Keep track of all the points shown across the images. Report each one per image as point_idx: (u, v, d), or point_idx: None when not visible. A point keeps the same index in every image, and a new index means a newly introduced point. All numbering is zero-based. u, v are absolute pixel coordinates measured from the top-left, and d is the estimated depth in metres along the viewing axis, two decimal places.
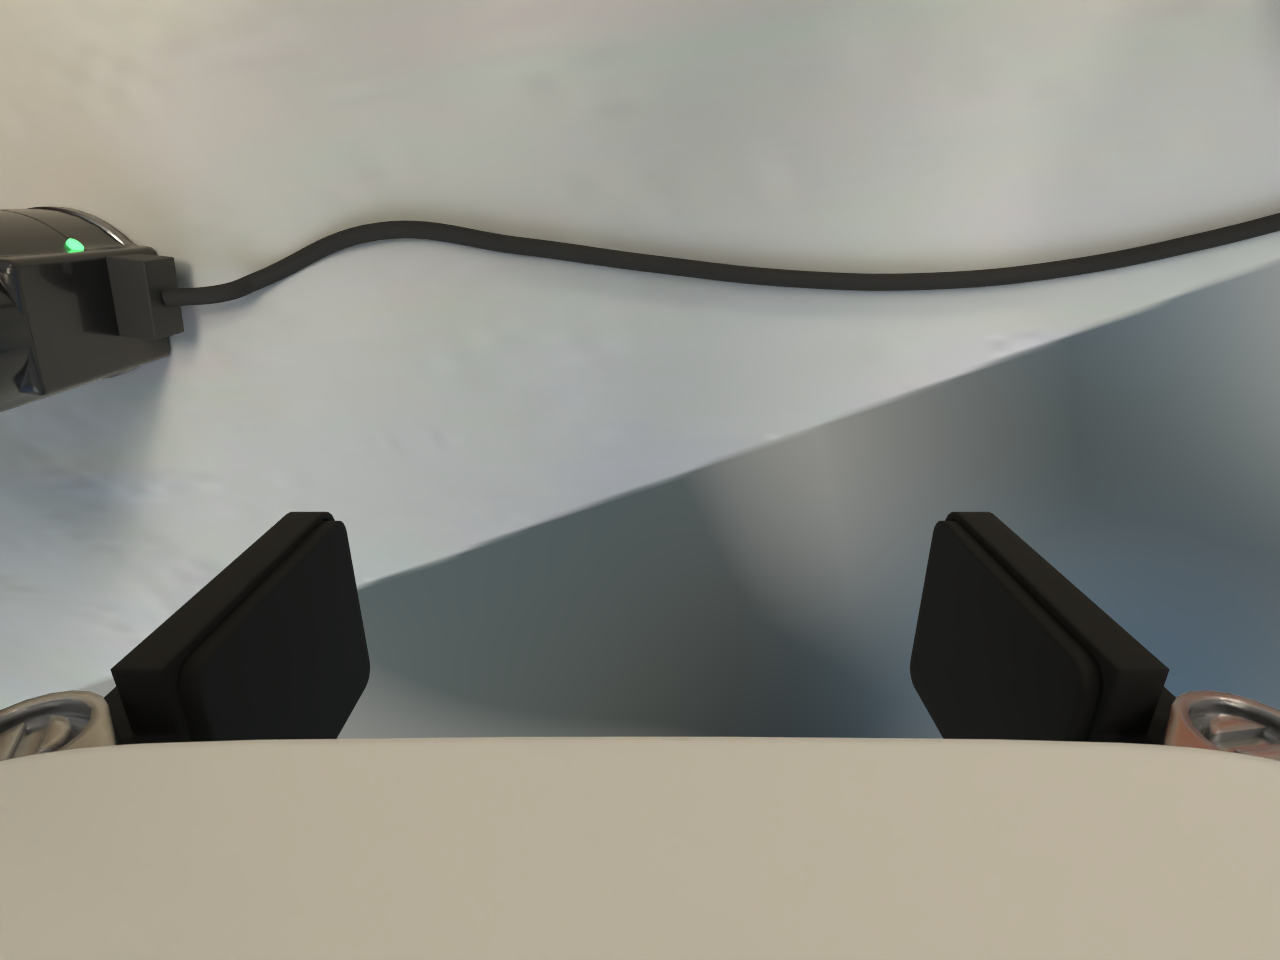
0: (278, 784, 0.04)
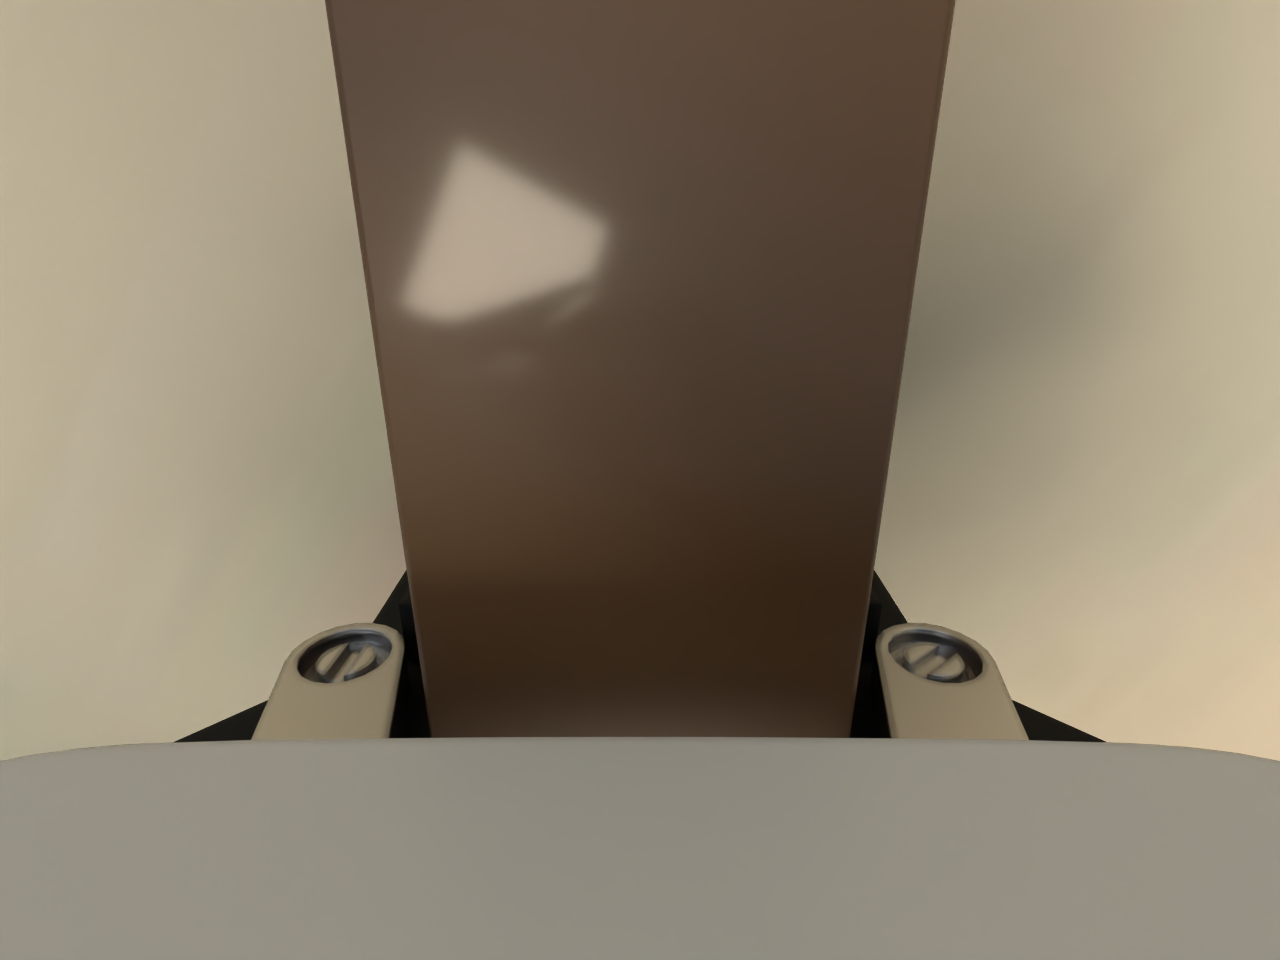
0: (278, 784, 0.04)
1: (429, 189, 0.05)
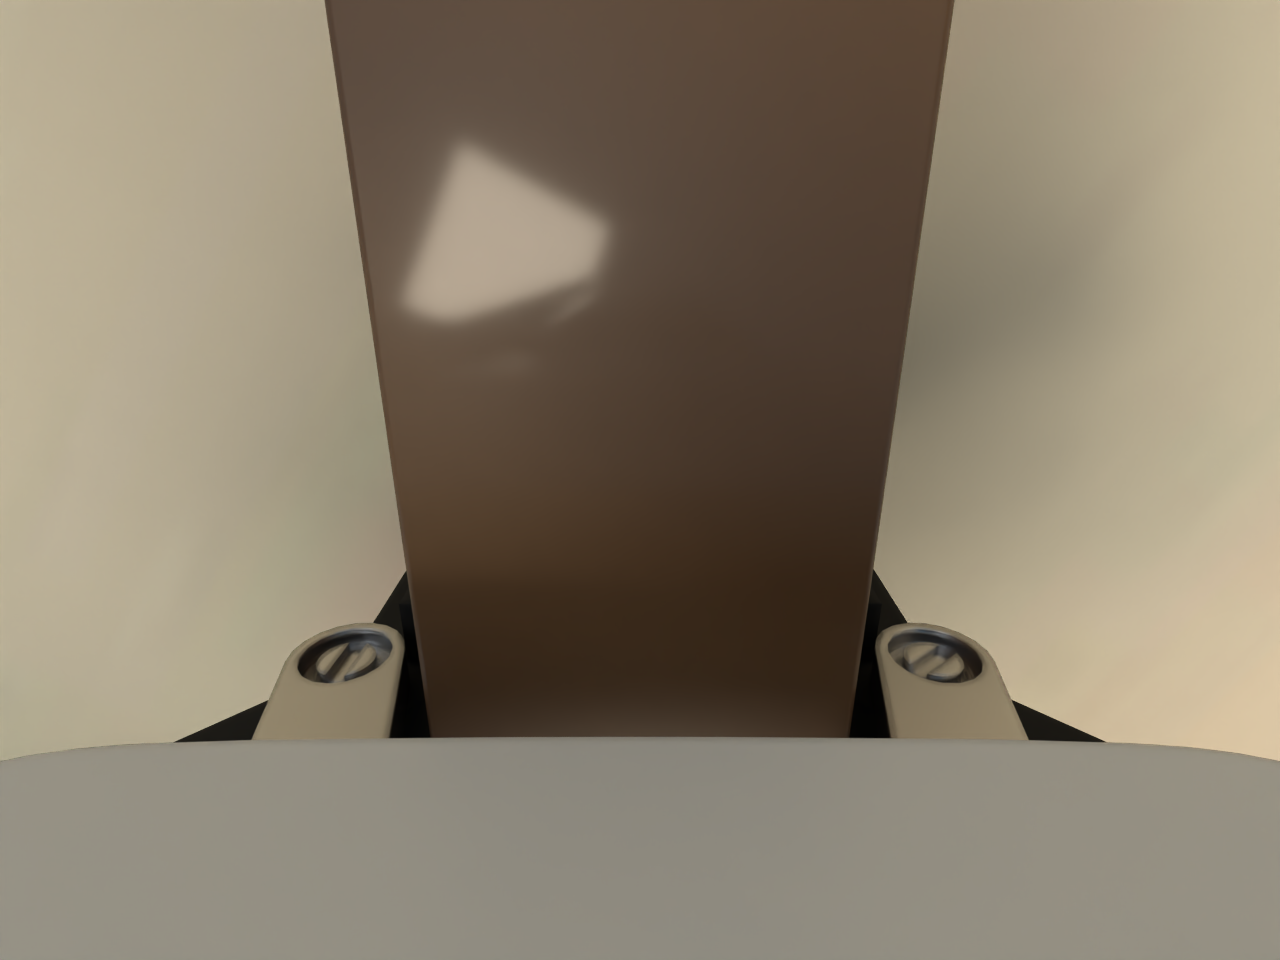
0: (278, 784, 0.04)
1: (428, 189, 0.05)
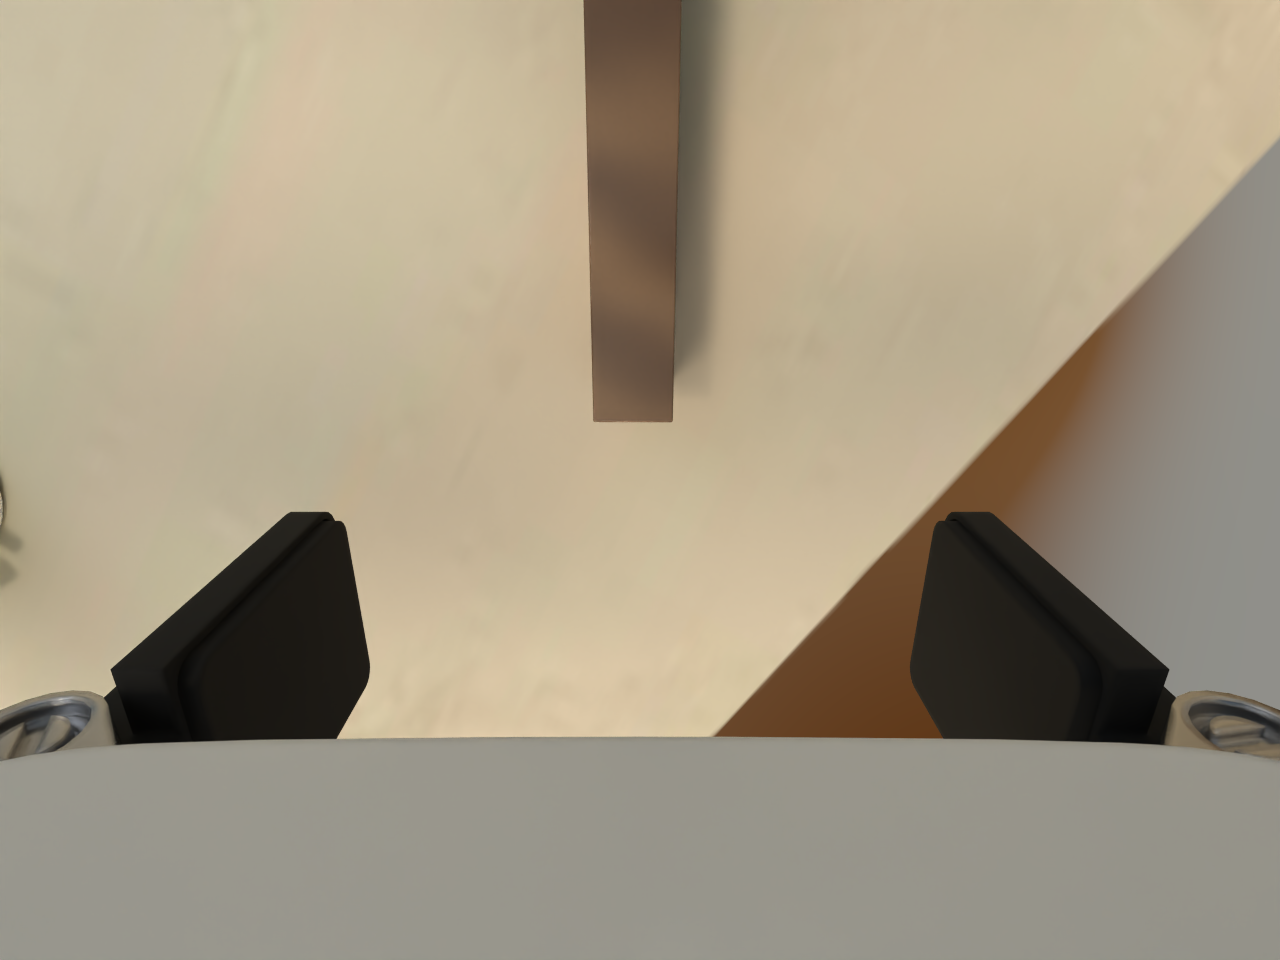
0: (278, 784, 0.04)
1: (600, 196, 0.32)
